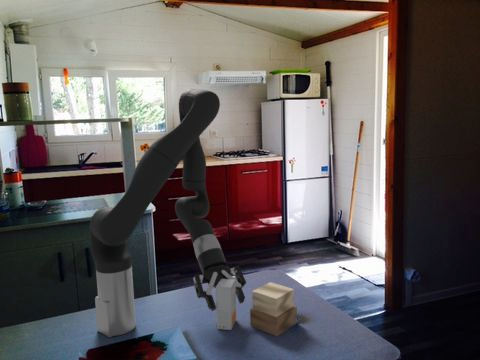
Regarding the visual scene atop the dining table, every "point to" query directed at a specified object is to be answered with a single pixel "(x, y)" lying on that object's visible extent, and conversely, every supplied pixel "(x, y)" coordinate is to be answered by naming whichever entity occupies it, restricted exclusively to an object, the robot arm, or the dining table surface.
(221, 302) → the skincare box
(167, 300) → the dining table surface
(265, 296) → the beech block
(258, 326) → the walnut block
